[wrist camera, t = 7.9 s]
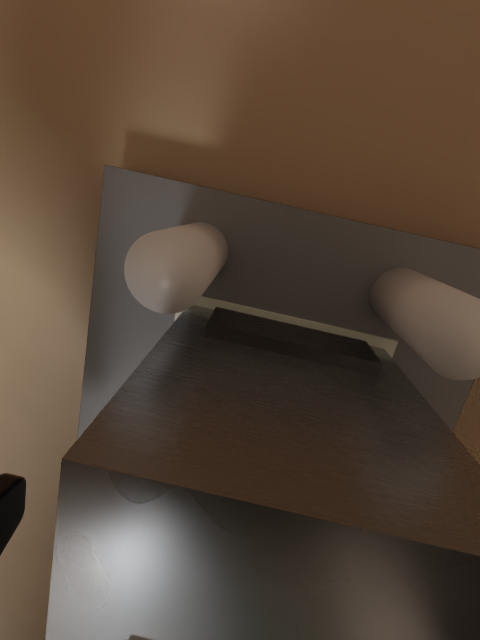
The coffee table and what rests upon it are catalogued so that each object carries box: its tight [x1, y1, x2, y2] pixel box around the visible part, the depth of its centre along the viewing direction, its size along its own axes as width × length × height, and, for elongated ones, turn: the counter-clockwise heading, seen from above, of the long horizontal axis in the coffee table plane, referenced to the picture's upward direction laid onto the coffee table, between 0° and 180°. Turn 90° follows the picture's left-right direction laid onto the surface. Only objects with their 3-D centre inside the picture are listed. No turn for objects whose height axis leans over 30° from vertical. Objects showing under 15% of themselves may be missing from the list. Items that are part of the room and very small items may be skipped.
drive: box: [45, 305, 480, 640], centre depth 7 cm, size 8×4×6 cm, turn 168°
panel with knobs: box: [77, 165, 480, 440], centre depth 9 cm, size 13×9×4 cm
